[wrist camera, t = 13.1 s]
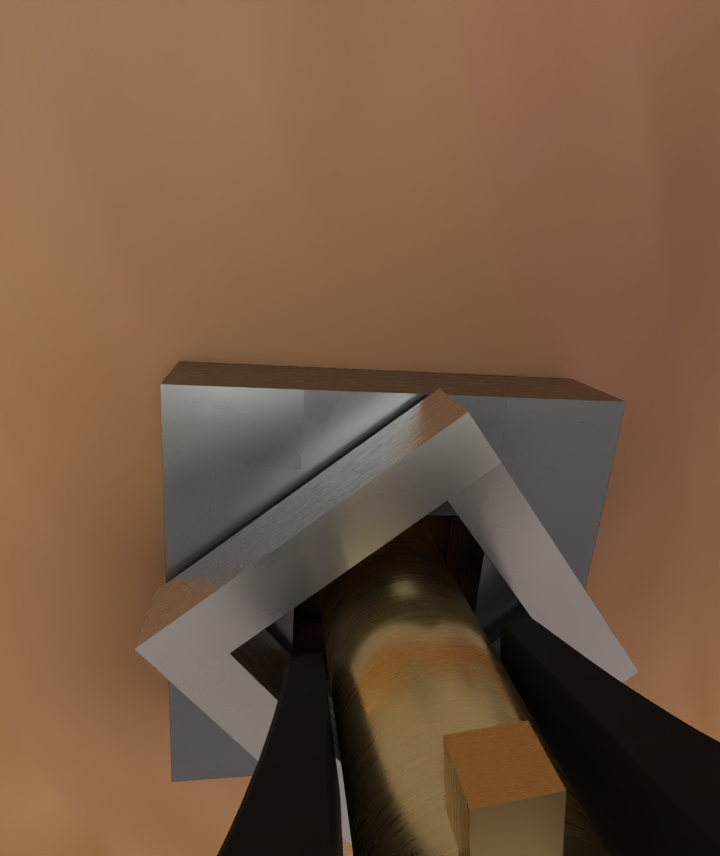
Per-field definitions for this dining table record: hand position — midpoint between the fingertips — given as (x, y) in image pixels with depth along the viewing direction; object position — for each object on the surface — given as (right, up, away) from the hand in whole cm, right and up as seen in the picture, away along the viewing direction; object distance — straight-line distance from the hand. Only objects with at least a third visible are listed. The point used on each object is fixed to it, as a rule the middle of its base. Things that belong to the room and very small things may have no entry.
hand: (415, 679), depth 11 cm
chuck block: (-1, +1, +5) cm, 5 cm away
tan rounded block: (-1, +1, +4) cm, 4 cm away
